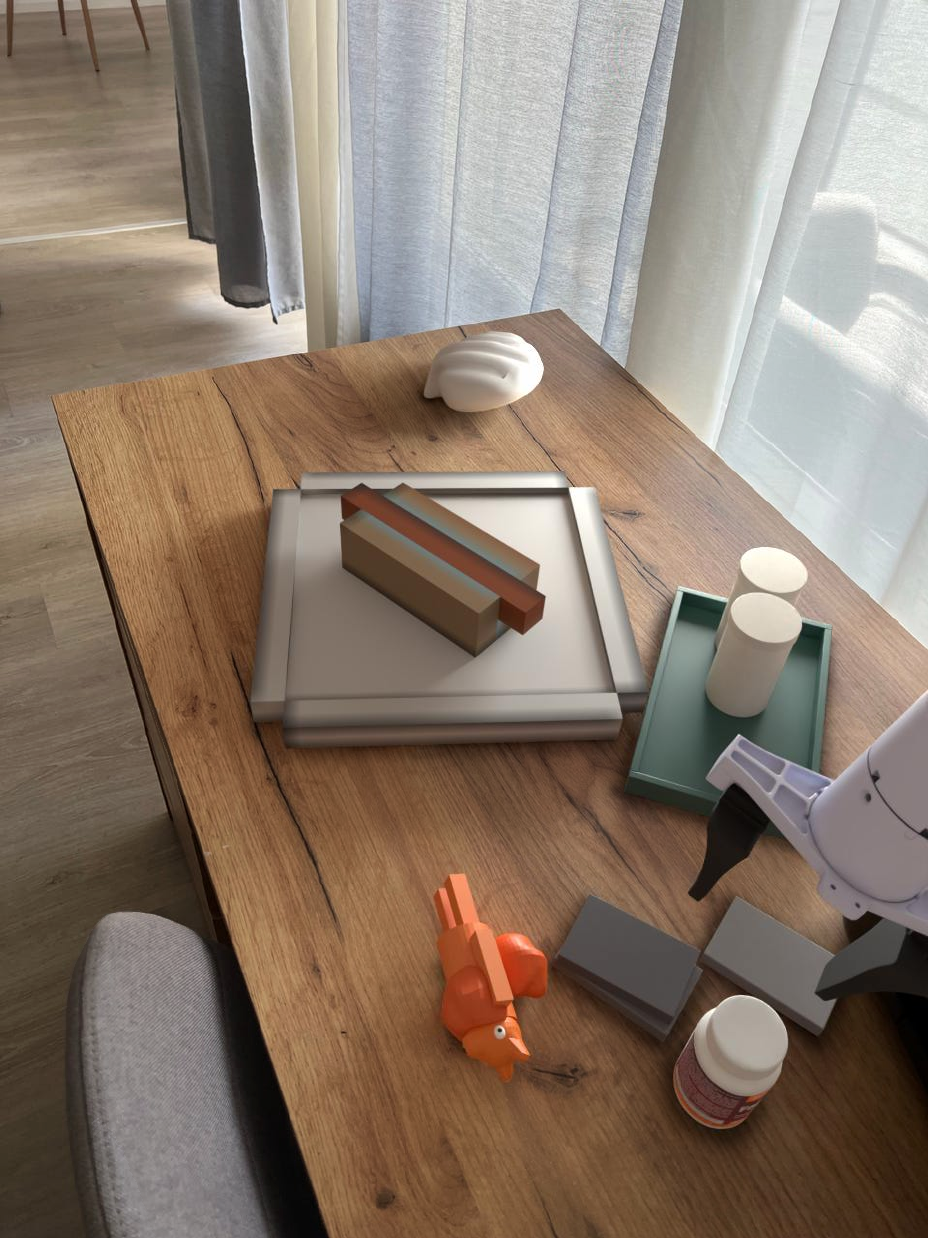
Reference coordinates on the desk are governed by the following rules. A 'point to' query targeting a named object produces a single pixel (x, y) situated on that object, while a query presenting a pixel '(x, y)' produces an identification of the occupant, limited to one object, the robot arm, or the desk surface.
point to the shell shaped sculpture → (484, 372)
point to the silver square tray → (442, 612)
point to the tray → (699, 732)
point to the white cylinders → (756, 631)
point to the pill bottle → (730, 1061)
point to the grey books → (692, 964)
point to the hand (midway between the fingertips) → (761, 933)
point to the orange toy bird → (484, 979)
